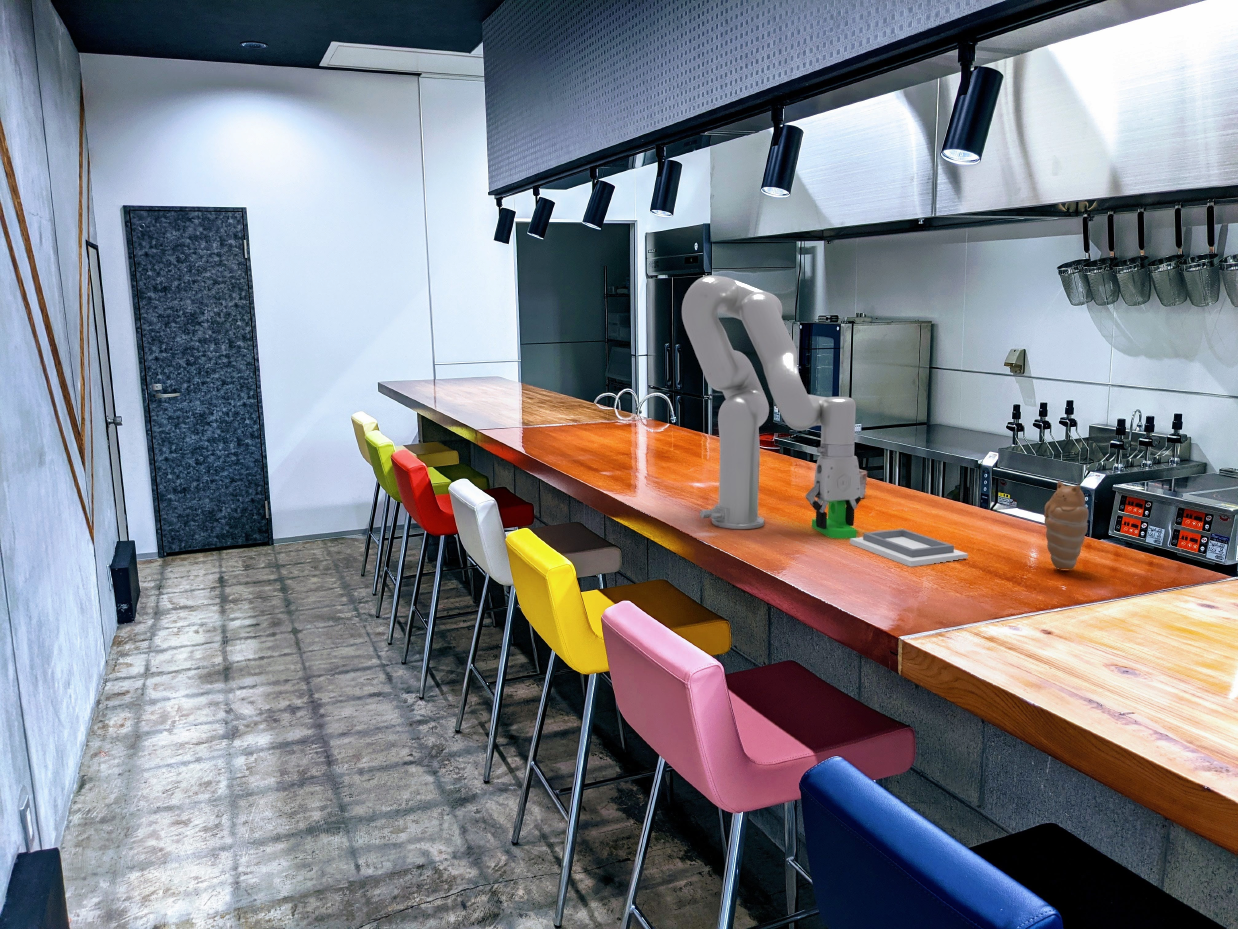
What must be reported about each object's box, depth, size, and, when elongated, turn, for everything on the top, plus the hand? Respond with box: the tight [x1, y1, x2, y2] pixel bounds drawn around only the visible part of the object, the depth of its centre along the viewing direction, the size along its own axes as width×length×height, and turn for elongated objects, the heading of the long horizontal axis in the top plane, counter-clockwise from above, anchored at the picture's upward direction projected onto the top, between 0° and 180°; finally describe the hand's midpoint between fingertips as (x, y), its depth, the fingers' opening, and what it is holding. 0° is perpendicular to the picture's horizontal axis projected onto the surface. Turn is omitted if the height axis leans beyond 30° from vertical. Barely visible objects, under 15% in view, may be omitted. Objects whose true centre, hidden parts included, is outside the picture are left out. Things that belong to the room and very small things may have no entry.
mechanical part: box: [811, 500, 858, 540], centre depth 217 cm, size 12×6×8 cm, turn 10°
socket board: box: [849, 528, 969, 568], centre depth 201 cm, size 15×20×3 cm
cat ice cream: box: [1043, 480, 1089, 570], centre depth 185 cm, size 9×8×18 cm
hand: (834, 525), depth 217 cm, fingers closed on mechanical part, 6 cm apart
